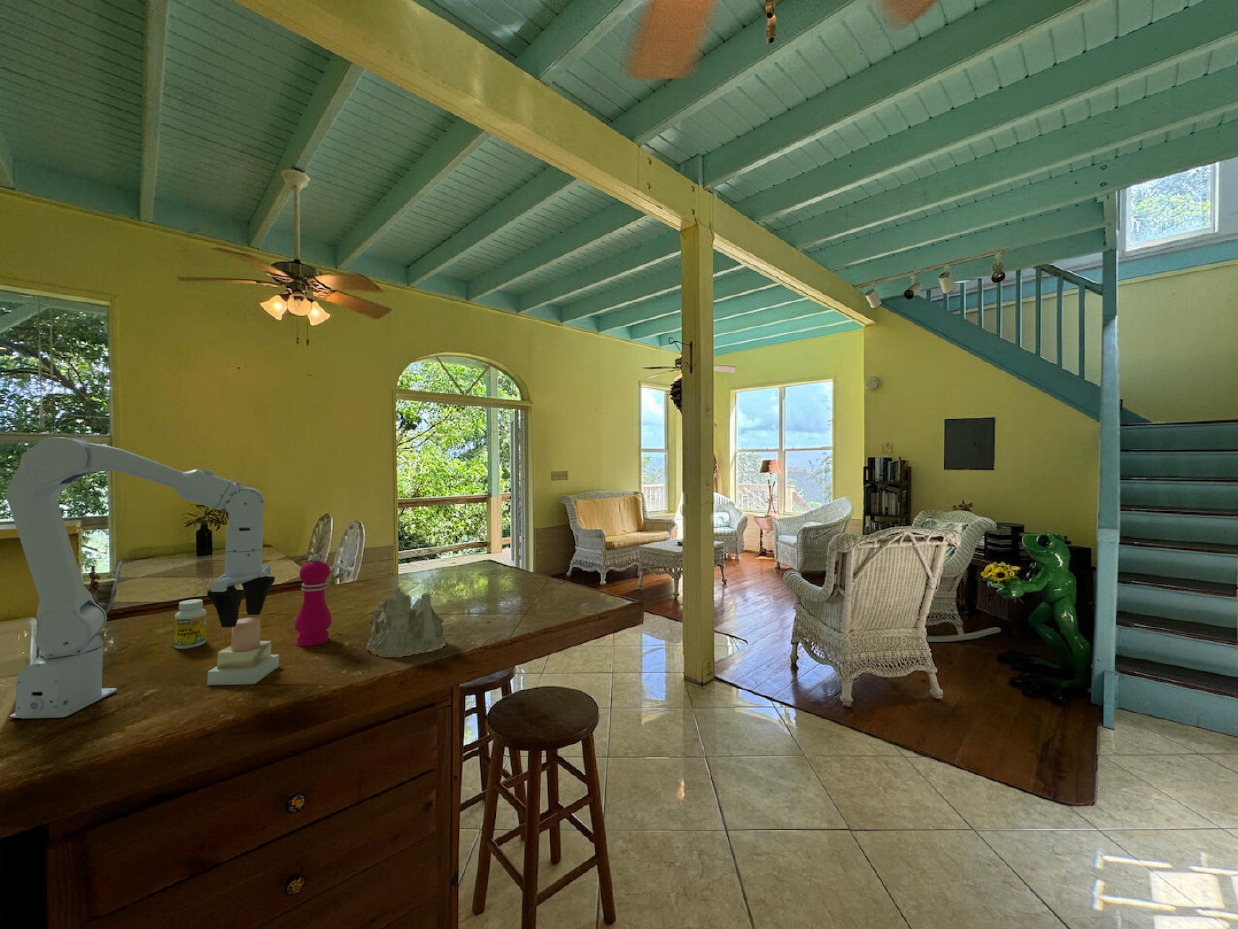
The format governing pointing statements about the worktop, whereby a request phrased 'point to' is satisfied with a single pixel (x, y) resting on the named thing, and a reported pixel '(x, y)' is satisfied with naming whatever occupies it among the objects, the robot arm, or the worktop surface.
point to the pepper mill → (313, 604)
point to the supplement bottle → (190, 624)
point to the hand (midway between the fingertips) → (241, 620)
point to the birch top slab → (243, 657)
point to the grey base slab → (242, 673)
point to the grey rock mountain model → (405, 625)
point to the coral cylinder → (246, 634)
